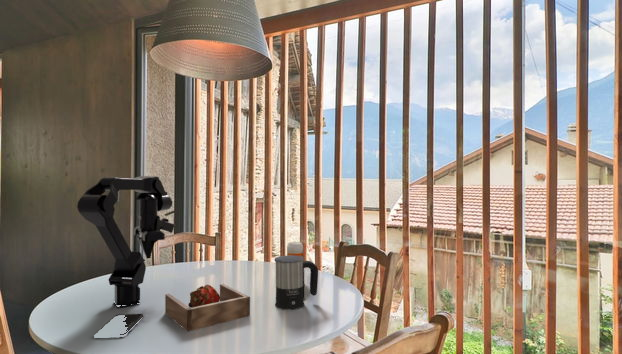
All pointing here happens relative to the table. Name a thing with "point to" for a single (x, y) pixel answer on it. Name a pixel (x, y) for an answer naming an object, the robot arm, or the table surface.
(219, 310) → the box
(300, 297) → the milk frother
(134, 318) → the phone
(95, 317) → the table surface
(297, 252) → the white capped bottle
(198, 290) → the dragon fruit
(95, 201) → the robot arm
